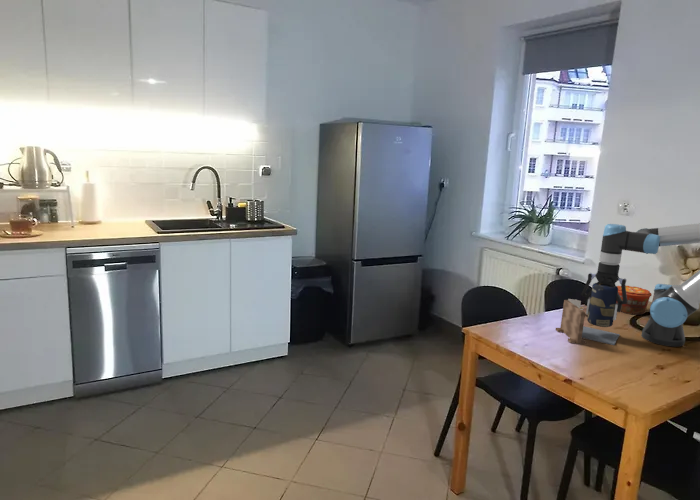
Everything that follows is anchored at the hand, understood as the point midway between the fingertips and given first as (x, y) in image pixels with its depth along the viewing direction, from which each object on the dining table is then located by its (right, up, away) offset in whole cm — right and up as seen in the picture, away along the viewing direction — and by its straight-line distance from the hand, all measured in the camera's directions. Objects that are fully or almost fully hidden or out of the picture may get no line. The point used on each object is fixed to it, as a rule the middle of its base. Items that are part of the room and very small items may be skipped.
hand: (600, 316), depth 207 cm
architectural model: (+2, -3, +30) cm, 30 cm away
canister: (0, -4, +1) cm, 4 cm away
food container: (+33, -3, +39) cm, 51 cm away
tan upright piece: (-13, -8, -1) cm, 15 cm away
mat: (0, -8, +2) cm, 8 cm away
